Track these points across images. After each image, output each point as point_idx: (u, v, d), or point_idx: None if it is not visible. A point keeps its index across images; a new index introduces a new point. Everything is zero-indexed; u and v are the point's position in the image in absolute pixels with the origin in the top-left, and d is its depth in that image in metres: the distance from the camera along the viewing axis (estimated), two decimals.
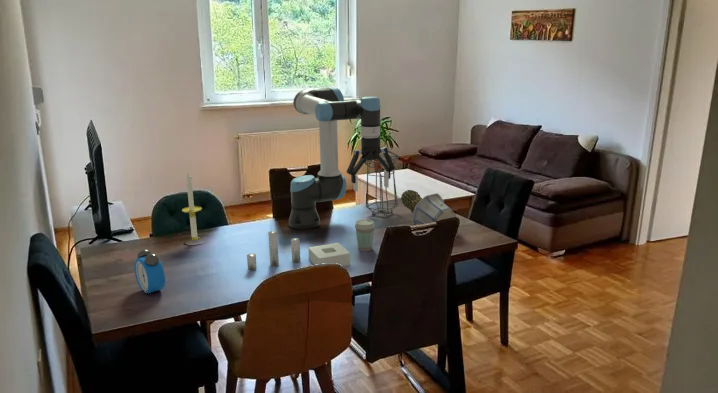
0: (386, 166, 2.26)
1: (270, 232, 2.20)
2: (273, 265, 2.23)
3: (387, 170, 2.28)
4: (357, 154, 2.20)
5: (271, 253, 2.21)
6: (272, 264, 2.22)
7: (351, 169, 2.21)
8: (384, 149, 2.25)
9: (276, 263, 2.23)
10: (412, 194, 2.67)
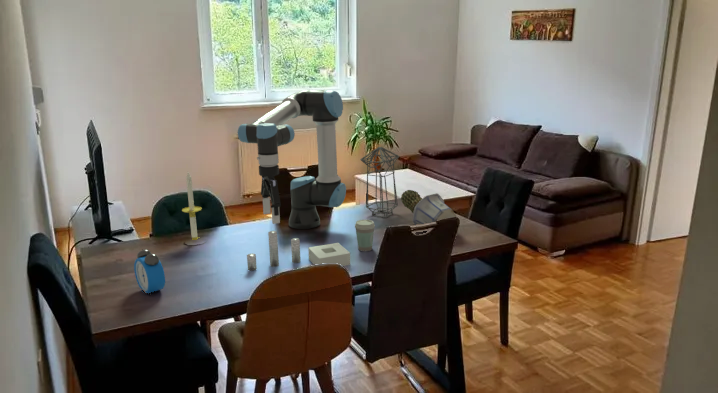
0: (271, 200, 2.10)
1: (270, 232, 2.20)
2: (273, 265, 2.23)
3: None
4: (262, 177, 2.20)
5: (271, 253, 2.21)
6: (272, 264, 2.22)
7: (261, 190, 2.24)
8: None
9: (276, 263, 2.23)
10: (412, 194, 2.67)
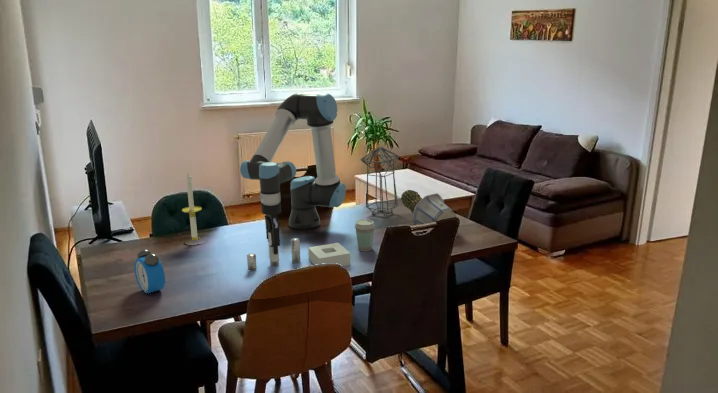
0: (271, 239, 2.18)
1: (270, 232, 2.20)
2: (273, 265, 2.23)
3: None
4: (265, 218, 2.24)
5: (271, 253, 2.21)
6: (272, 264, 2.22)
7: (266, 234, 2.25)
8: None
9: (276, 263, 2.23)
10: (412, 194, 2.67)
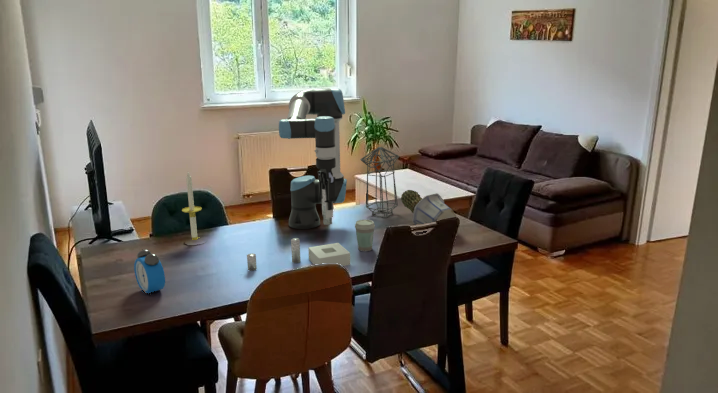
0: (326, 195, 2.17)
1: (324, 189, 2.18)
2: (326, 223, 2.21)
3: None
4: (318, 174, 2.22)
5: (325, 210, 2.20)
6: (326, 222, 2.21)
7: (319, 190, 2.23)
8: None
9: (329, 220, 2.21)
10: (412, 194, 2.67)
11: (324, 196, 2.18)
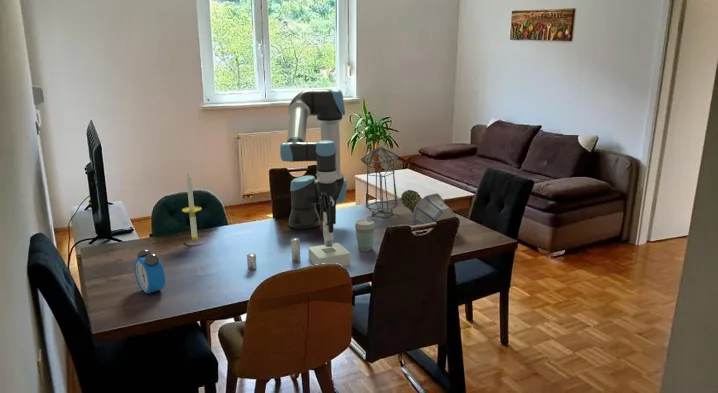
0: (327, 218, 2.19)
1: (325, 212, 2.21)
2: (327, 245, 2.23)
3: None
4: (319, 197, 2.24)
5: (326, 233, 2.22)
6: (327, 244, 2.23)
7: (320, 213, 2.26)
8: None
9: (330, 242, 2.23)
10: (412, 194, 2.67)
11: (325, 219, 2.20)
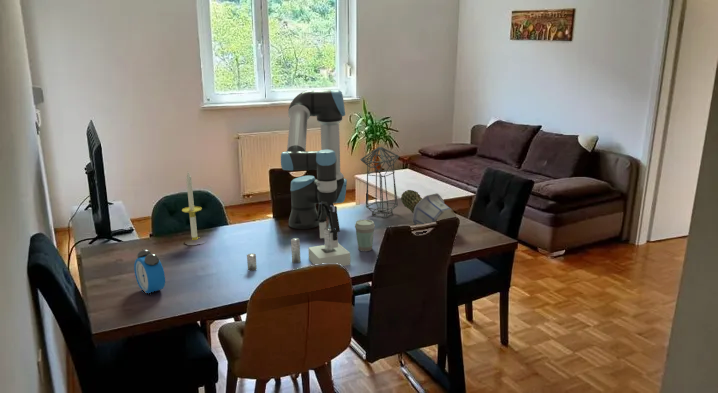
0: (330, 226, 2.17)
1: (326, 229, 2.23)
2: None
3: None
4: (319, 202, 2.26)
5: (326, 250, 2.24)
6: None
7: (317, 215, 2.29)
8: None
9: None
10: (412, 194, 2.67)
11: (326, 236, 2.22)
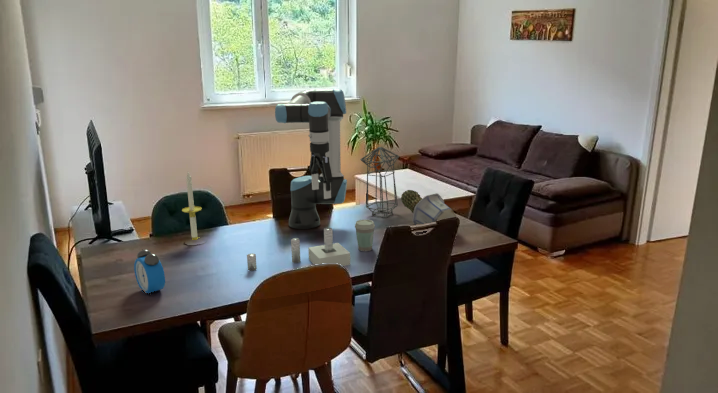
0: (323, 176, 2.18)
1: (326, 229, 2.23)
2: None
3: None
4: (311, 154, 2.27)
5: (326, 250, 2.24)
6: None
7: (309, 167, 2.32)
8: None
9: None
10: (412, 194, 2.67)
11: (326, 236, 2.23)
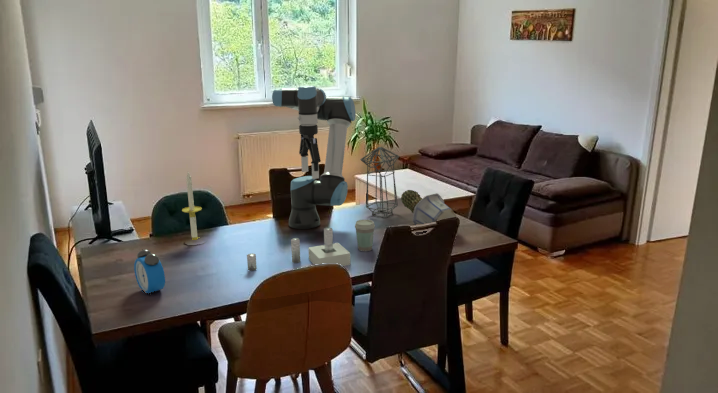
0: (311, 157, 2.28)
1: (326, 229, 2.23)
2: None
3: None
4: (301, 137, 2.37)
5: (326, 250, 2.24)
6: None
7: (299, 150, 2.41)
8: None
9: None
10: (412, 194, 2.67)
11: (326, 236, 2.23)
